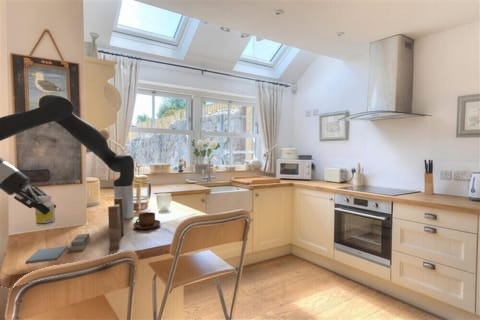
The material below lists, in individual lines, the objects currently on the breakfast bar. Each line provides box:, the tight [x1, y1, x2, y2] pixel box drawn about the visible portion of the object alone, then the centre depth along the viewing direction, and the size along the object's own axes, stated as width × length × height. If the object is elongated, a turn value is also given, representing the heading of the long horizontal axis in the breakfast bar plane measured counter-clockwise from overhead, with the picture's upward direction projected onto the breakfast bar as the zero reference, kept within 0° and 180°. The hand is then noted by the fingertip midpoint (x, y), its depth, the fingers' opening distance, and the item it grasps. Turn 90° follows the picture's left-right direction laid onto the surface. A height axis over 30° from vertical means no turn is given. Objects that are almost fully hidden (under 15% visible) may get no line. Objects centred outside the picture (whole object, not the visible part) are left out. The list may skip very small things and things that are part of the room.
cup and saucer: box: [132, 211, 161, 230], centre depth 128 cm, size 12×12×6 cm
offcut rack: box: [67, 197, 125, 253], centre depth 106 cm, size 17×17×16 cm
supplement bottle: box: [34, 195, 56, 227], centre depth 96 cm, size 5×5×10 cm
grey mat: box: [25, 245, 68, 264], centre depth 97 cm, size 11×9×1 cm
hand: (51, 210), depth 96 cm, fingers closed on supplement bottle, 5 cm apart
